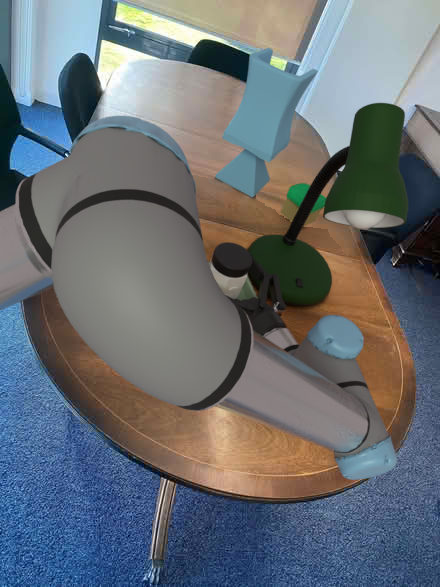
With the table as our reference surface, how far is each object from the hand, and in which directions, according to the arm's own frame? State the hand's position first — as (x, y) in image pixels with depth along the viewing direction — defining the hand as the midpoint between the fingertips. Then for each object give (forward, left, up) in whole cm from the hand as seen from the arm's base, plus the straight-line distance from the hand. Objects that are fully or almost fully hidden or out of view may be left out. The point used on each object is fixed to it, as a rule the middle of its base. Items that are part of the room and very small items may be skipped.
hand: (220, 260), depth 83 cm
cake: (+37, +27, -8) cm, 46 cm away
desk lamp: (+21, -1, -8) cm, 22 cm away
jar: (+1, -3, -8) cm, 8 cm away
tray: (+1, -3, -8) cm, 9 cm away
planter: (+25, +45, -8) cm, 52 cm away
